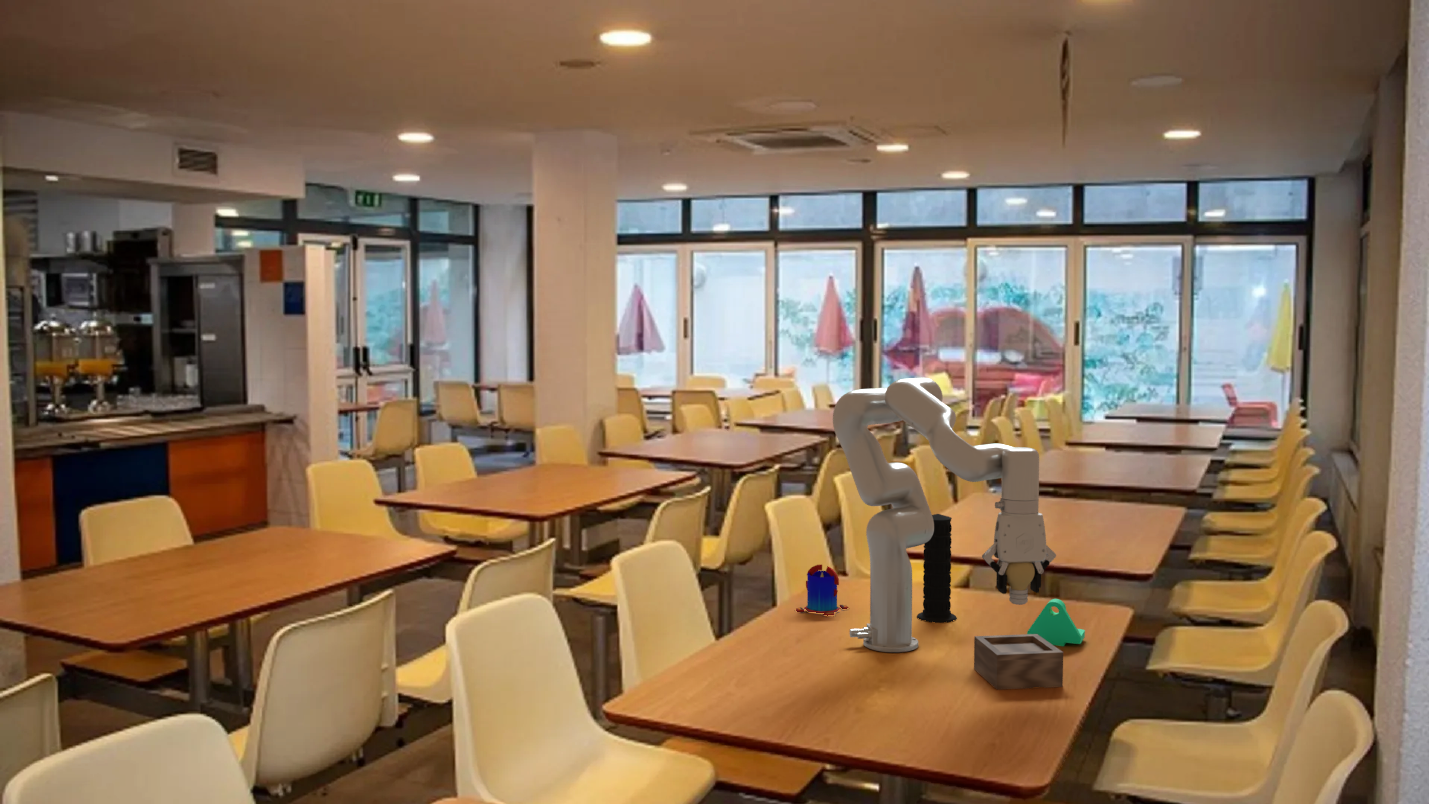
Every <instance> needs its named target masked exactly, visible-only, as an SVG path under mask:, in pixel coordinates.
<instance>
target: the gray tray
mask: <svg viewBox="0 0 1429 804" xmlns="http://www.w3.org/2000/svg"><path fill="white" fill-rule="evenodd" d="M973 638H974V639H973V642H974V646H973V648H974V651H973V655H974V656H973V669H974V671H976V673H978V674H979V675H980V676H981V677H982V678H983V679H984V680H985V681H987V682H988V683H989V684H990V685H991V686H992V687H993V688H995V689H996V690H1013V689H1015V690H1016V689H1017V690H1019V689H1034V688H1033V687H1044V688H1063V687H1064V686H1063V685H1064V651H1062V650H1061V649H1060V648H1058V647H1056V645H1052V644H1051V643H1049V642H1048V641H1046V640H1045V639H1043V638H1042V637H1041V636H1039V635H1038V634H1027V633H1026V634H1004V635H1002V634H1001V635H999V634H997V635H977V636H976V635H974V637H973Z"/></svg>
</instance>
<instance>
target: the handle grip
mask: <svg viewBox="0 0 1429 804" xmlns="http://www.w3.org/2000/svg"><path fill="white" fill-rule="evenodd" d="M932 517H933V521H934V532H933V535H932V537H931V539H930V540H929V541H928V542H927V543H925V544H923V548H924V549H923V561H924V562H923V564H922V565H923V566H922V567H923V583H922V585H923V589H922V593H923V596H922V598H923V602H922V606H923V610H922V612H920V613H918V614H917V615H916V619H918V618H919V619H921V620H920V621H922V620H926V621H929V622H928V623H932V622H935V623H934V624H937V623H938V624H943V623H944V622H947V623H951V621H952V622H954V621H953V620H955V621H957V620H958V617H957V615H955V614H954V613H952V611H951V608H952V604H951V601H950V600H951V598H952V597H951V594H952V590H951V586H952V584H951V582H952V577H951V574H952V572H951V569H952V563H951V562H952V559H951V557H952V550H951V549H952V546H951V545H952V533H951V532H952V517H951V516H948V515H944V514H942V513H934V514H932ZM919 619H918V620H919ZM956 619H957V620H956ZM926 621H925V622H926ZM944 624H945V623H944Z"/></svg>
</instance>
